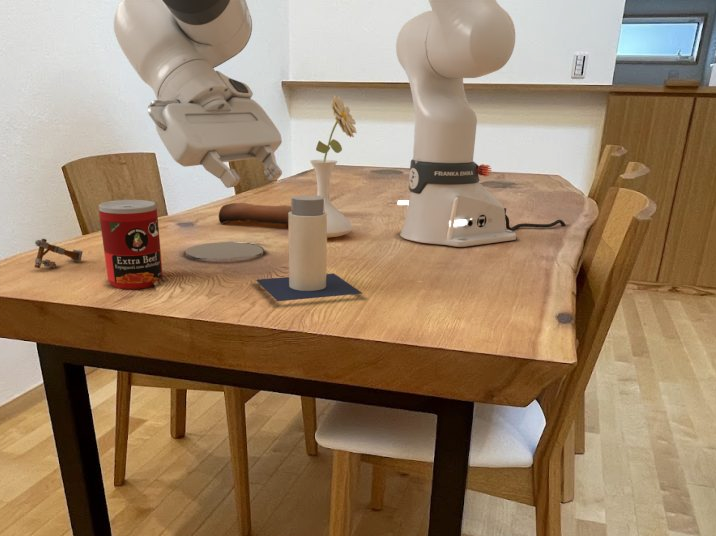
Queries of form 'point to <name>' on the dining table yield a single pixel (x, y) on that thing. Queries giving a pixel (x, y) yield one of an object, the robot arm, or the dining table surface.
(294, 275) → the shaker
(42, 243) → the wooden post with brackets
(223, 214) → the sunglasses case
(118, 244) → the canned food
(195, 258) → the coaster
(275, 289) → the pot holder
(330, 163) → the flower in vase
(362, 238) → the dining table surface
